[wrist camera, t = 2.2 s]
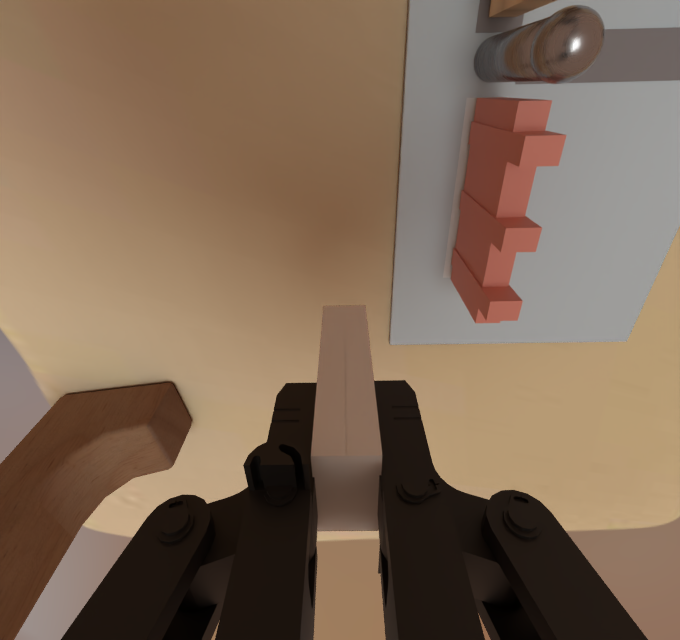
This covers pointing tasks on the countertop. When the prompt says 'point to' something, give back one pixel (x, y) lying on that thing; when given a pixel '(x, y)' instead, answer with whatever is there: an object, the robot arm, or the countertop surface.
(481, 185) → the fence panel
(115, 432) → the wooden block
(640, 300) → the card
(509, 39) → the post
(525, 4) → the fence fixed
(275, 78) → the countertop surface
